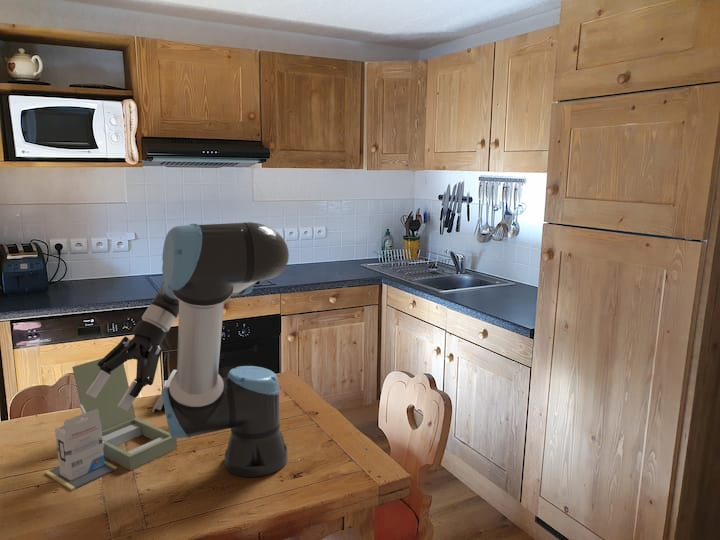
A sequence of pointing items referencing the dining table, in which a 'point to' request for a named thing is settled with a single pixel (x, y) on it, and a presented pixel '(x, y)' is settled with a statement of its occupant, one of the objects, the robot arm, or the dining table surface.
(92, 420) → the ink box
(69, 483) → the mat
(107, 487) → the dining table surface
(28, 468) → the dining table surface
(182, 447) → the dining table surface
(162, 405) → the white black curved block
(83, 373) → the case
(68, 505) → the dining table surface
